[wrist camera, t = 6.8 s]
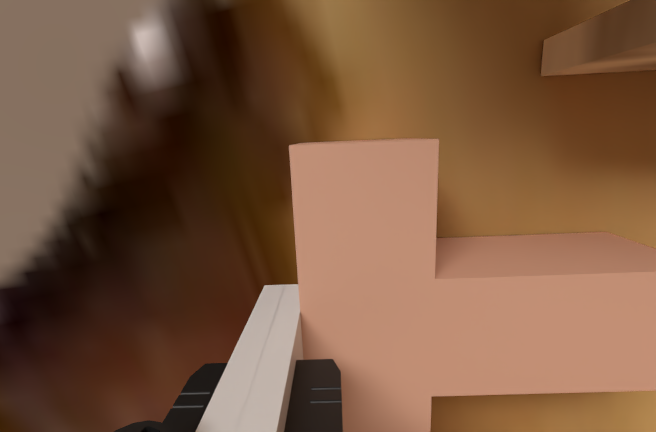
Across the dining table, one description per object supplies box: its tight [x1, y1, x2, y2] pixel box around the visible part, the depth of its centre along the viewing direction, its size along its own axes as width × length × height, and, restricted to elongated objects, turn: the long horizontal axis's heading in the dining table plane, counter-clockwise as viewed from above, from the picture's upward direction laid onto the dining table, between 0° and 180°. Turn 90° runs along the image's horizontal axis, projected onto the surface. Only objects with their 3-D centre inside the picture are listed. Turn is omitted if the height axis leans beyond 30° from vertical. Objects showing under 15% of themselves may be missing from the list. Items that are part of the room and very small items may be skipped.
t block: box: [289, 138, 656, 432], centre depth 12 cm, size 12×12×4 cm
